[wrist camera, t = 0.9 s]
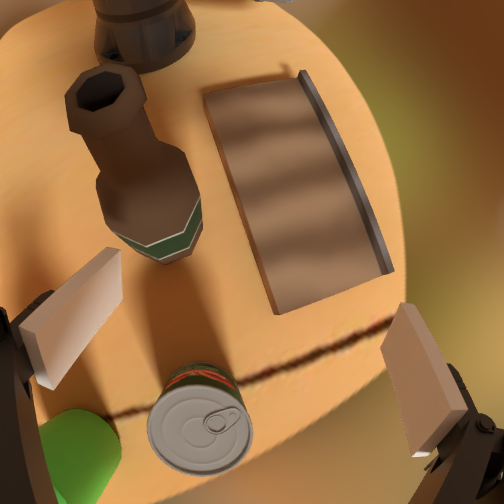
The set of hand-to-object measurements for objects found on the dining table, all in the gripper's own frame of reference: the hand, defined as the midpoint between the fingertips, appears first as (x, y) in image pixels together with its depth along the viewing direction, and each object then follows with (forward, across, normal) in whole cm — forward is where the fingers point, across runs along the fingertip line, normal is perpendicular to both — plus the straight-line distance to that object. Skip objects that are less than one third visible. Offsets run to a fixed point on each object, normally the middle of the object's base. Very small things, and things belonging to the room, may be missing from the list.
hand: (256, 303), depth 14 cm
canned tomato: (+10, -3, -20) cm, 22 cm away
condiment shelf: (+24, +1, 0) cm, 25 cm away
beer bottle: (+19, -10, -5) cm, 22 cm away
